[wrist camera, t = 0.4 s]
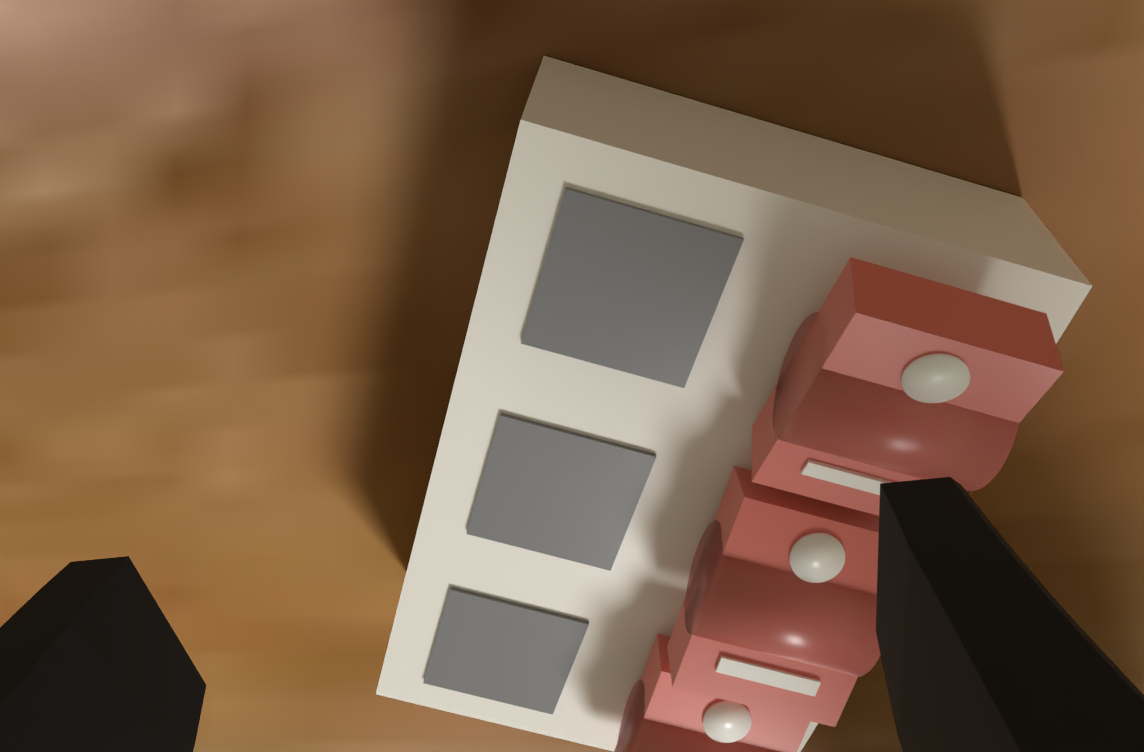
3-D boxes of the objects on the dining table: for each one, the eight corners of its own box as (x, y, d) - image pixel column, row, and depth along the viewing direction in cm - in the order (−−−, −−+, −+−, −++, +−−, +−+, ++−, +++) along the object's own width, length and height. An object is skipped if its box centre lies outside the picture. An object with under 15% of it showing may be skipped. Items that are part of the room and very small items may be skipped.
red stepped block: (816, 672, 19) (840, 742, 18) (665, 633, 19) (674, 702, 17) (890, 498, 18) (926, 555, 16) (731, 456, 18) (748, 508, 16)
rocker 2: (916, 454, 18) (930, 548, 16) (752, 409, 17) (751, 501, 16) (1041, 295, 15) (1070, 391, 13) (848, 239, 15) (857, 332, 13)
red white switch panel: (762, 667, 25) (776, 794, 22) (410, 578, 25) (374, 697, 22) (1023, 198, 18) (1095, 289, 15) (543, 54, 18) (519, 121, 15)
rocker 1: (736, 803, 22) (751, 878, 20) (601, 771, 21) (603, 844, 20) (798, 658, 20) (820, 723, 19) (656, 622, 20) (663, 684, 18)
